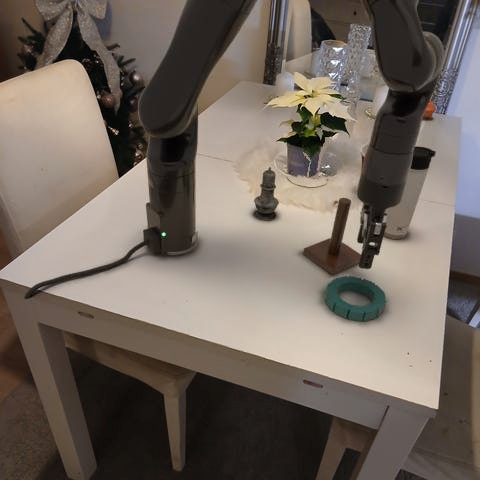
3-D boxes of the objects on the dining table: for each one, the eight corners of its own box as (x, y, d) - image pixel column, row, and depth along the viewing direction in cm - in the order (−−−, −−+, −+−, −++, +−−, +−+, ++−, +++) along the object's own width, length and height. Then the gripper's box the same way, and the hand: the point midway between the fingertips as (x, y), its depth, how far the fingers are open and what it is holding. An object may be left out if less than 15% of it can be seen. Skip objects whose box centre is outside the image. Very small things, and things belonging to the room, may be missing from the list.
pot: (431, 122, 171) (432, 102, 167) (409, 122, 175) (410, 103, 171) (437, 116, 176) (439, 96, 172) (416, 116, 180) (417, 97, 176)
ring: (355, 329, 85) (357, 321, 84) (312, 295, 92) (314, 287, 91) (395, 307, 91) (398, 299, 89) (352, 277, 97) (355, 269, 96)
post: (332, 275, 97) (345, 216, 89) (302, 254, 103) (312, 196, 94) (362, 262, 102) (377, 204, 93) (332, 242, 107) (344, 186, 98)
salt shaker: (275, 222, 112) (281, 174, 104) (250, 218, 113) (254, 170, 105) (278, 210, 116) (284, 163, 108) (255, 207, 117) (259, 159, 109)
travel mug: (403, 243, 108) (431, 157, 95) (375, 233, 111) (399, 149, 98) (411, 231, 112) (439, 148, 99) (384, 222, 115) (408, 140, 102)
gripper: (360, 153, 85) (342, 233, 95) (363, 189, 74) (343, 274, 85) (403, 158, 84) (380, 237, 95) (413, 194, 73) (386, 279, 84)
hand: (363, 254), depth 90 cm, fingers open, 8 cm apart
